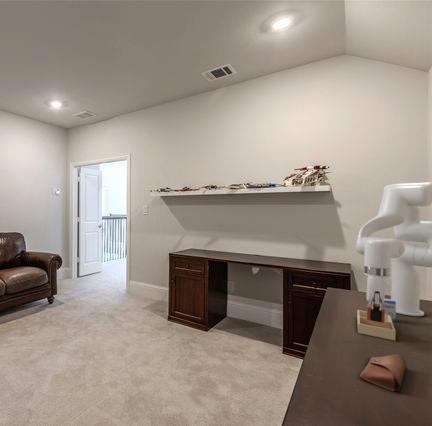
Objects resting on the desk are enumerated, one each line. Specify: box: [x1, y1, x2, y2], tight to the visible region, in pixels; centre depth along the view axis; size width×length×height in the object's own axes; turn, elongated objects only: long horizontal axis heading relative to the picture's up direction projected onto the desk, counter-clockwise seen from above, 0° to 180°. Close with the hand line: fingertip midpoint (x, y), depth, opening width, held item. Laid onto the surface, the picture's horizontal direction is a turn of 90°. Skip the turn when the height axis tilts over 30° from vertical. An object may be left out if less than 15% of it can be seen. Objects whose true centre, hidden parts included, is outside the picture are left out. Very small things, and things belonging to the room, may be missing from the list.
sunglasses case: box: [359, 354, 407, 392], centre depth 85 cm, size 18×7×7 cm
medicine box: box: [368, 298, 397, 323], centre depth 129 cm, size 8×4×9 cm, turn 68°
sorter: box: [356, 309, 396, 342], centre depth 119 cm, size 20×10×4 cm, turn 141°
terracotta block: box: [366, 303, 385, 323], centre depth 115 cm, size 5×5×5 cm
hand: (375, 318), depth 115 cm, fingers closed on terracotta block, 5 cm apart
